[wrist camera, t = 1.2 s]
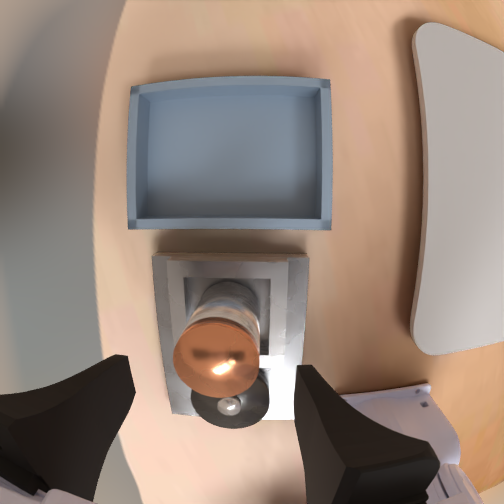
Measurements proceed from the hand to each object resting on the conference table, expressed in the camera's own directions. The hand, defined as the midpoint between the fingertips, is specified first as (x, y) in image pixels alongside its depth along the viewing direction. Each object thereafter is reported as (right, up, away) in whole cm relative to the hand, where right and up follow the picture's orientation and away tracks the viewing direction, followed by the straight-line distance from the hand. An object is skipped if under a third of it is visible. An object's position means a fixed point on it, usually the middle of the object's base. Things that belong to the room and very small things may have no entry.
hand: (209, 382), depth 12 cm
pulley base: (0, -1, +10) cm, 10 cm away
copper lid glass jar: (0, +2, +8) cm, 8 cm away
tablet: (+21, +11, +7) cm, 25 cm away
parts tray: (0, +12, +7) cm, 14 cm away
